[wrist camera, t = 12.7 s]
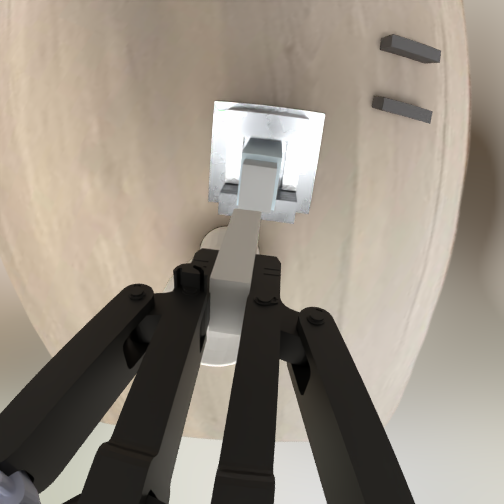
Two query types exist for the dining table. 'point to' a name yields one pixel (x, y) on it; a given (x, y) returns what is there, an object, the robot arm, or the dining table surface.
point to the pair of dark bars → (416, 53)
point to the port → (267, 128)
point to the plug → (259, 175)
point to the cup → (217, 344)
